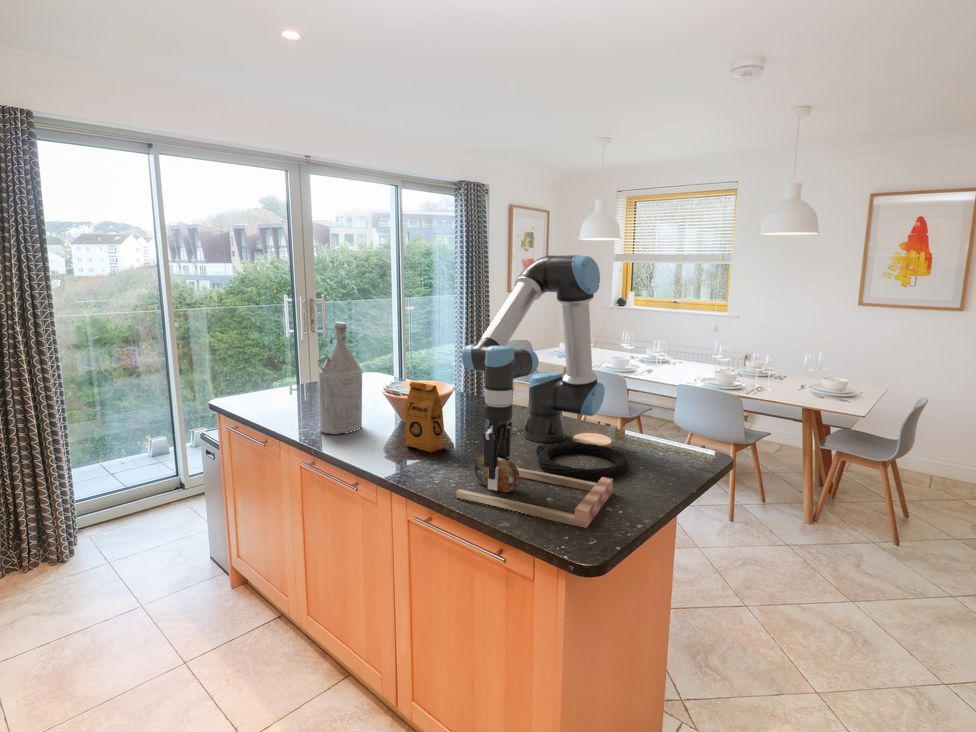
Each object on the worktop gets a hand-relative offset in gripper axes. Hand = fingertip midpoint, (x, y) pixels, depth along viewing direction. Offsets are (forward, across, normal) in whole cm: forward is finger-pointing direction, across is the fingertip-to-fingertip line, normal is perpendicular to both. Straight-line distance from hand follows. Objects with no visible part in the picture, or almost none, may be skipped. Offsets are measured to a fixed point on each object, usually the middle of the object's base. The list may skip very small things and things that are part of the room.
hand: (496, 486), depth 153 cm
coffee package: (+1, -19, -36) cm, 41 cm away
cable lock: (+1, -29, +14) cm, 32 cm away
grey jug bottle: (+1, -21, -74) cm, 77 cm away
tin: (0, 0, 0) cm, 1 cm away
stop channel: (0, 0, +11) cm, 11 cm away
